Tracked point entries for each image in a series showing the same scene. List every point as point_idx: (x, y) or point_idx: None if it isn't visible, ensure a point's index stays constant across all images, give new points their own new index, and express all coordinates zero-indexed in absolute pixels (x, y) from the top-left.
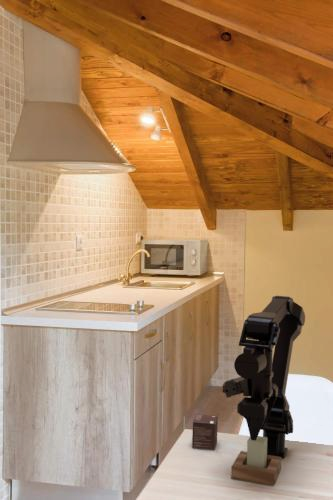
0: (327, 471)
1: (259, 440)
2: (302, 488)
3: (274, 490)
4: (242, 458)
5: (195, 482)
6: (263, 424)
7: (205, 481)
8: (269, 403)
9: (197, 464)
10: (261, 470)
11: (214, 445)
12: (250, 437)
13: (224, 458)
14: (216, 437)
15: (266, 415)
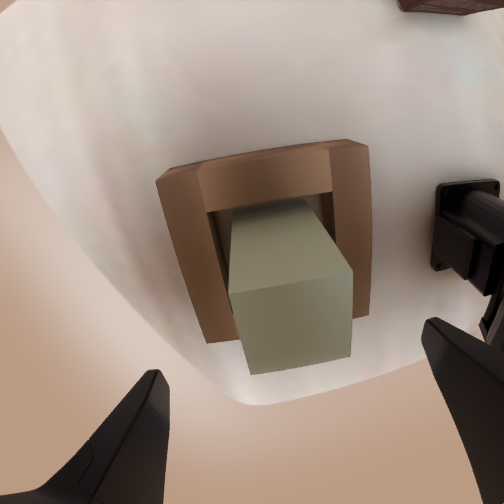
0: (378, 374)
1: (278, 346)
2: (246, 369)
3: (184, 322)
4: (279, 186)
5: (70, 79)
6: (429, 357)
7: (94, 100)
8: (493, 484)
9: None
10: (200, 303)
11: (413, 6)
12: (302, 287)
13: (353, 63)
14: (462, 9)
15: (458, 413)
